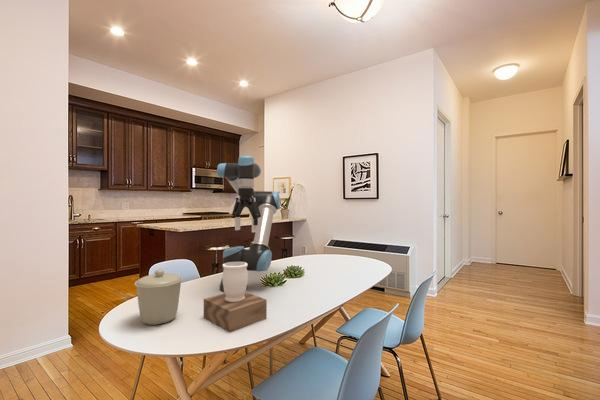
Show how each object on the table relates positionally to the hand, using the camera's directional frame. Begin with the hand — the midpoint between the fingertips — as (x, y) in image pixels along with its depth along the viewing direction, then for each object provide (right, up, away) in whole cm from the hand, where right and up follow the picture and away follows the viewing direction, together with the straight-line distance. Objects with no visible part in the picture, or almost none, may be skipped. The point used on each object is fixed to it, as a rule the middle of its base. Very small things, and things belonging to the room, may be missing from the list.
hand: (245, 231), depth 145 cm
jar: (-1, -27, -20) cm, 33 cm away
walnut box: (-1, -35, -20) cm, 40 cm away
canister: (-32, -35, -22) cm, 52 cm away
